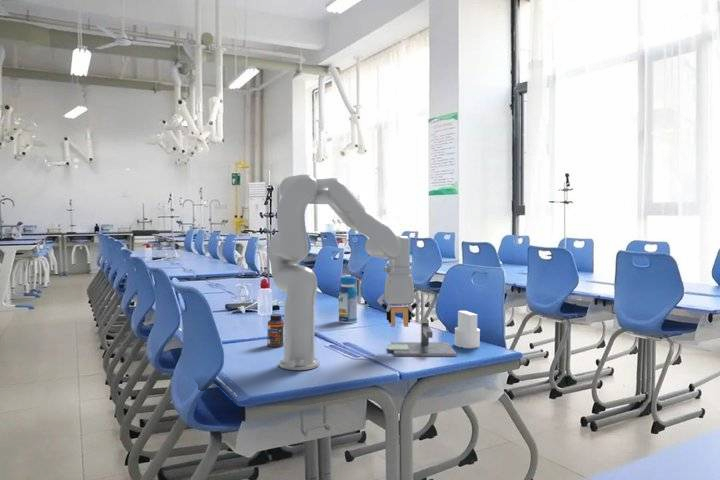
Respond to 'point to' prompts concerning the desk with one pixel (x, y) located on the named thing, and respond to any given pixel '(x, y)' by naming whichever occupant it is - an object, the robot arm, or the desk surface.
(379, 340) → the desk surface
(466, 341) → the cylinder with rectangular tab
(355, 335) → the desk surface
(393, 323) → the orange staple
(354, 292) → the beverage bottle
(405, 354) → the stand
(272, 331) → the supplement bottle
